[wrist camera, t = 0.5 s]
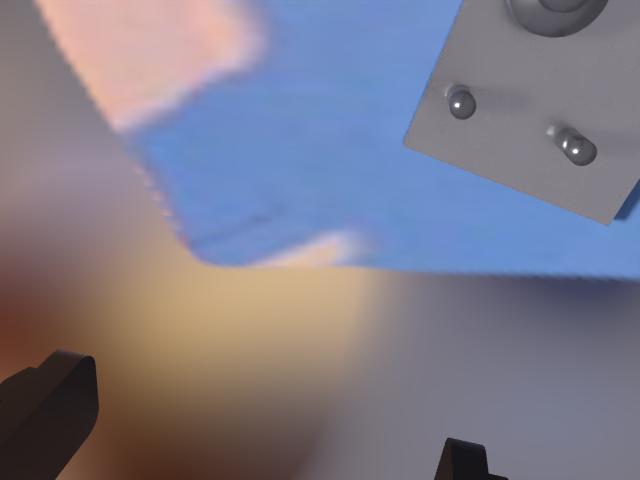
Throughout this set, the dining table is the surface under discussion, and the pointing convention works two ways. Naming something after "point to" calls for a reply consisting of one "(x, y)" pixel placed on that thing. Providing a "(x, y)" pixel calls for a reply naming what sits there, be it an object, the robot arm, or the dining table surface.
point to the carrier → (540, 100)
